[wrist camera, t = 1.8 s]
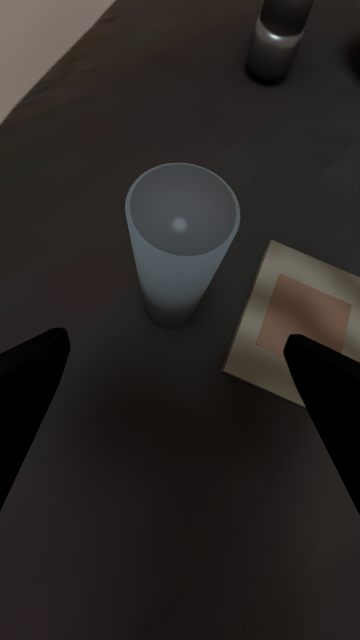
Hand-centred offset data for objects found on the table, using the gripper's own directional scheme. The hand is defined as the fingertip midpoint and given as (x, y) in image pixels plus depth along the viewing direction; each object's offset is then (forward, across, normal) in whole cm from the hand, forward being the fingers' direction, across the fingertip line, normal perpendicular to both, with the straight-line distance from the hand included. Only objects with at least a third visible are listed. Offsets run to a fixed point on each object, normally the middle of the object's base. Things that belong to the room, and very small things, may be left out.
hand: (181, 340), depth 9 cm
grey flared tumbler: (+13, 0, +5) cm, 13 cm away
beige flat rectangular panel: (+11, -13, +6) cm, 18 cm away
